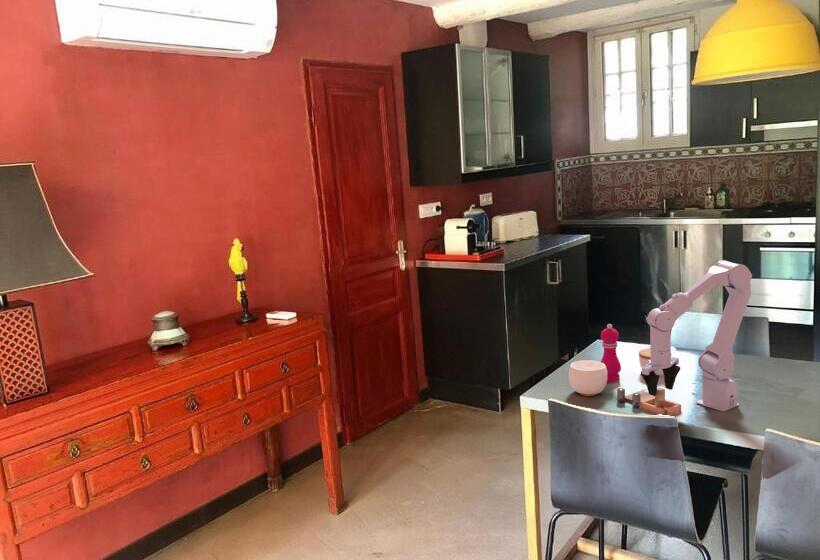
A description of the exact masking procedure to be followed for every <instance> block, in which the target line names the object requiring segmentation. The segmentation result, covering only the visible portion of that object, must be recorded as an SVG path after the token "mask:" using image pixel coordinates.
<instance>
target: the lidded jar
mask: <svg viewBox="0 0 820 560" xmlns="http://www.w3.org/2000/svg"><path fill="white" fill-rule="evenodd" d="M638 356H639V357H638V359H639V366H640V367H641V369H642V367H645V366H646V365H647V364H648V360H651V357H650V348H649V347H648V348H643V349H641V350H639V351H638ZM654 373H656V375H660V377H662V376H663V377H664V374H663V370H662V369H660V370H657V371H655V372H654Z"/></svg>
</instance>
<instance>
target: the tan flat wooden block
mask: <svg viewBox="0 0 820 560" xmlns="http://www.w3.org/2000/svg"><path fill="white" fill-rule="evenodd" d="M633 393H639V394H640V395H641V402H642V401H645V400H647V399H650V398H653V397H655V396H652V395H649V392H648V391H645V390H643V389H640V390H638V391H636V392H632V393H630V394H627V395H625V402H626V401H627V402H626V403H629V402H630V403H629V404H632V394H633Z"/></svg>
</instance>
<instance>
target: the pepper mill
mask: <svg viewBox="0 0 820 560" xmlns="http://www.w3.org/2000/svg"><path fill="white" fill-rule="evenodd" d="M600 332H601V333H600V340H601V341H602V342H601V343H602V347H603V354H602V355H603V356H602V358H601V360H600V362H602V363H604V364H605V366H606V369H607V382H606V383H609V384H610V383H611V384H612V383H618V382H619V381H620V380H621V379H620V378H621V377H620V374H619V373H620V372H621V370H622V366H621V361H620V360H619V357H618V356H617V347H618V342H617V341H618V340H619V336H620V335H619V331H618V330H617V329H616V328H613V324H611V323H608V324H607V325H606V328H604V329H603V330H601V331H600Z"/></svg>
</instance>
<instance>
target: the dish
mask: <svg viewBox="0 0 820 560" xmlns="http://www.w3.org/2000/svg"><path fill="white" fill-rule="evenodd" d="M639 410H642V411H645V412H647V411H648V412H647V413H650V414H654V415H656V414H662V415H671V416H674V415H676V414H679V413H681V412H682V404H680V403H677V402H674V401H670V400H668V399H665V409H663V408H660V407H657V406H655V397H653V398H650V399H647V400H645V401H642V402H640V408H639Z"/></svg>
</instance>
